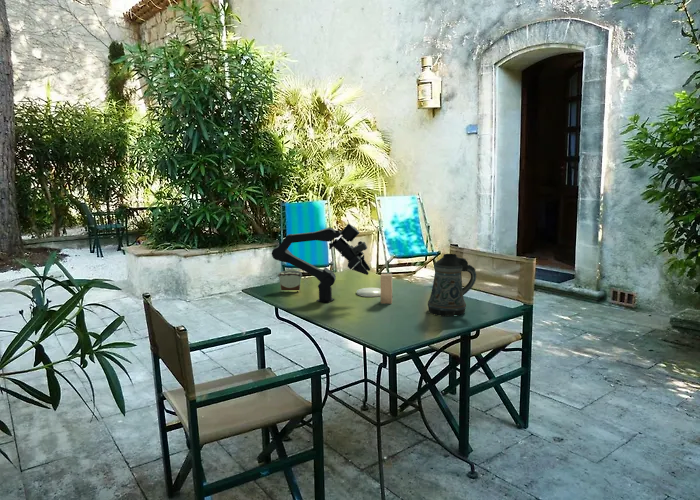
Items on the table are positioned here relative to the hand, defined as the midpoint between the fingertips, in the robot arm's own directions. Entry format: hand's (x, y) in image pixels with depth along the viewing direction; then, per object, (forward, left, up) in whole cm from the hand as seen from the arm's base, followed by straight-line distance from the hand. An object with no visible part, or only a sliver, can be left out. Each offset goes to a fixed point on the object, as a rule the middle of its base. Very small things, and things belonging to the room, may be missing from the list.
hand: (369, 272), depth 257 cm
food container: (+2, +45, -14) cm, 47 cm away
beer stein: (0, -39, -14) cm, 41 cm away
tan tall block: (+2, -8, -14) cm, 16 cm away
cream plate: (+14, +6, -14) cm, 21 cm away
